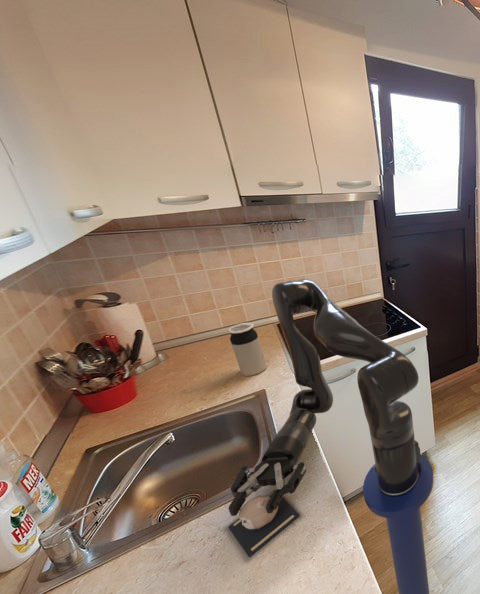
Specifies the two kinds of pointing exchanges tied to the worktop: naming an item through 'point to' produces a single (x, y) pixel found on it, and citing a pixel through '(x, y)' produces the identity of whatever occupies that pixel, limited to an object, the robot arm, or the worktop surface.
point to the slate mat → (263, 529)
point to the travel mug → (247, 349)
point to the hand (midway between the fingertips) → (250, 511)
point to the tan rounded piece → (256, 513)
